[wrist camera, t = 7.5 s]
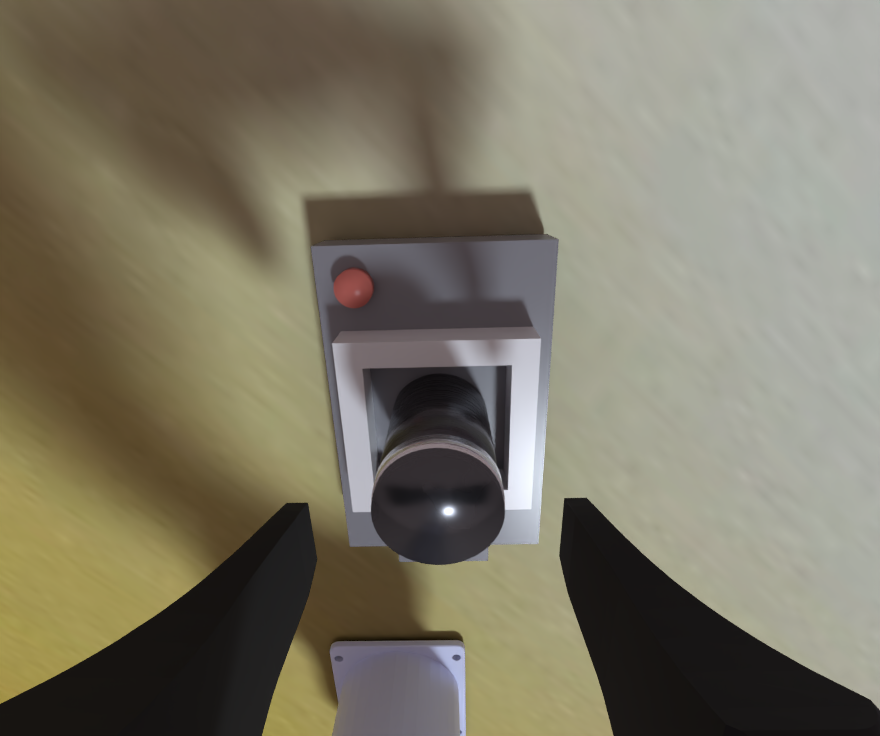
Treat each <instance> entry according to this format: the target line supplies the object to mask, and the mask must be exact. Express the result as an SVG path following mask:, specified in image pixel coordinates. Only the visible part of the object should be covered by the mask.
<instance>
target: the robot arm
mask: <svg viewBox="0 0 880 736" xmlns="http://www.w3.org/2000/svg"><path fill="white" fill-rule="evenodd" d="M559 556H560V561H561V565H562V570H563V575H564V579H565V583H566V587H567V591H568V594H569V597H570V600H571V603H572V606H573V609H574V612H575V615H576V618H577V620H578V623H579V626H580V629H581V632H582V634H583V637H584V640H585V643H586V646H587V648H588V651H589V654H590V657H591V660H592V662H593V665H594V668H595V671H596V674H597V677H598V680H599V683H600V686H601V690H602V693H603V696H604V700H605V704H606V708H607V712H608V715H609V719H610V723H611V727H612V731H613V735H614V736H880V710H879V709H878V708H877V707H876V706H875V705H874V704H873V702H872V701H871V700H870V699H868V698H866V697H864V696H862V695H860V694H858V693H856V692H854V691H852V690H850V689H848V688H846V687H844V686H842V685H840V684H838V683H836V682H834V681H832V680H830V679H828V678H826V677H824V676H822V675H820V674H818V673H816V672H814V671H812V670H810V669H808V668H806V667H805V666H803V665H801V664H799V663H797V662H796V661H794V660H792V659H790V658H789V657H787V656H785V655H783V654H782V653H780V652H778V651H776V650H775V649H773V648H771V647H769V646H768V645H766V644H764V643H763V642H761V641H759V640H758V639H756V638H755V637H753V636H751V635H750V634H748V633H747V632H745V631H744V630H742V629H740V628H739V627H737V626H736V625H734V624H733V623H731V622H730V621H728V620H727V619H725V618H724V617H722V616H721V615H719V614H718V613H716V612H715V611H713V610H712V609H711V608H709V607H708V606H706V605H705V604H704V603H702V602H701V601H700V600H698V599H697V598H696V597H694V596H693V595H692V594H690V593H689V592H688V591H686V590H685V589H684V588H682V587H681V586H680V585H679V584H677V583H676V582H675V581H673V580H672V579H671V578H670V577H669V576H667V575H666V574H665V573H664V572H663V571H662V570H660V569H659V568H658V567H657V566H656V565H655V564H653V563H652V562H651V561H650V560H649V559H648V558H647V557H646V556H644V555H643V554H642V553H641V552H640V551H639V550H638V549H637V548H636V547H635V546H634V545H633V544H632V543H631V542H630V541H629V540H628V539H627V538H625V537H624V536H623V535H622V534H621V533H620V532H619V531H618V530H617V529H616V528H615V527H614V526H613V524H612V523H611V522H610V521H609V520H608V519H607V518H606V517H605V516H604V515H603V514H602V513H601V512H600V511H599V510H598V509H597V508H596V507H595V506H594V505H593V504H592V503H591V502H590V501H589V500H588V499H587V498H564V509H563V520H562V532H561V543H560V555H559ZM316 562H317V555H316V549H315V543H314V537H313V531H312V525H311V519H310V513H309V507H308V503H286V504H285V505H284V506H283V507H282V508H281V509H280V510H279V511H278V512H277V513H276V514H275V515H274V516H272V517H271V518H270V519H269V520H268V521H267V522H266V523H265V524H264V525H263V526H262V527H261V528H260V529H259V530H258V531H257V532H256V533H255V534H254V535H253V536H252V537H251V538H250V539H249V540H248V541H246V542H245V543H244V544H243V545H242V546H241V547H240V548H239V549H238V550H237V551H236V552H235V553H234V554H233V555H231V556H230V557H229V558H228V559H227V560H226V561H224V562H223V563H222V564H221V565H220V566H219V567H217V568H216V569H215V570H214V571H213V572H212V573H210V574H209V575H208V576H207V577H206V578H205V579H204V580H202V581H201V582H200V583H199V584H197V585H196V586H195V587H194V588H192V589H191V590H190V591H188V592H187V593H186V594H185V595H183V596H182V597H181V598H179V599H178V600H177V601H175V602H174V603H172V604H171V605H170V606H168V607H167V608H166V609H164V610H163V611H161V612H160V613H159V614H157V615H156V616H154V617H153V618H151V619H150V620H148V621H147V622H145V623H144V624H142V625H140V626H139V627H137V628H136V629H134V630H133V631H131V632H130V633H128V634H127V635H125V636H124V637H122V638H121V639H119V640H118V641H116V642H114V643H113V644H111V645H109V646H108V647H106V648H104V649H103V650H101V651H99V652H98V653H96V654H94V655H93V656H91V657H89V658H87V659H86V660H84V661H82V662H80V663H78V664H77V665H75V666H73V667H71V668H70V669H68V670H66V671H64V672H62V673H60V674H59V675H57V676H55V677H53V678H51V679H49V680H47V681H45V682H43V683H41V684H39V685H37V686H35V687H33V688H31V689H29V690H27V691H25V692H23V693H21V694H19V695H17V696H15V697H13V698H11V699H9V700H7V701H5V702H3V703H1V704H0V736H262V733H263V729H264V725H265V722H266V718H267V714H268V710H269V707H270V703H271V699H272V696H273V693H274V690H275V687H276V684H277V681H278V678H279V675H280V672H281V670H282V667H283V664H284V662H285V659H286V656H287V653H288V651H289V648H290V645H291V643H292V640H293V637H294V635H295V632H296V629H297V626H298V624H299V621H300V618H301V615H302V613H303V610H304V607H305V604H306V602H307V599H308V596H309V592H310V588H311V584H312V580H313V576H314V571H315V567H316ZM330 657H331V663H332V669H333V675H334V681H335V686H336V692H337V698H338V709H337V714H336V718H335V723H334V728H333V733H332V736H466V706H465V646H464V643H463V642H461V641H459V640H414V641H337V642H334V643H332V645H331V648H330Z"/></svg>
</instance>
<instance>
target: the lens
mask: <svg viewBox="0 0 880 736" xmlns="http://www.w3.org/2000/svg"><path fill="white" fill-rule="evenodd" d="M371 518H372V522H373V525H374V528H375V530H376V532H377V534H378V535H379V537H380V538H381V540H382V541H383V542H384V543H385V544H386V545H387V546H388V547H389V548H390V549H392V550H393V551H395V552H396V553H397V554H399V555H401V556H403V557H405V558H407V559H410V560H412V561H416V562H420V563H425V564H433V565H445V564H453V563H457V562H461V561H464V560H467V559H470V558H472V557H474V556H476V555H478V554H479V553H481V552H482V551H484V550H485V549H486V548H487V547H489V546H490V545H491V544H492V543H493V541H494V540H495V539H496V537H497V536H498V535H499V533H500V531H501V529H502V526H503V523H504V518H505V496H504V490H503V484H502V479H501V475H500V472H499V469H498V467H497V461H496V456H495V451H494V445H493V440H492V434H491V429H490V424H489V418H488V413H487V408H486V404H485V401H484V399H483V397H482V395H481V394H480V393H479V391H478V390H477V389H476V388H475V387H474V386H473V385H472V384H470V383H469V382H467V381H466V380H464V379H462V378H460V377H457V376H454V375H450V374H441V373H439V374H429V375H425V376H422V377H419V378H417V379H415V380H413V381H412V382H410V383H409V384H408V385H406V386H405V387H404V388H403V389H402V390H401V392H400V393H399V395H398V396H397V398H396V400H395V403H394V406H393V410H392V415H391V419H390V423H389V428H388V432H387V436H386V441H385V445H384V450H383V454H382V458H381V463H380V466H379V468H378V471H377V474H376V477H375V481H374V486H373V490H372V496H371Z"/></svg>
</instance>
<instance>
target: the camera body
mask: <svg viewBox="0 0 880 736" xmlns="http://www.w3.org/2000/svg"><path fill="white" fill-rule="evenodd" d="M558 241H559V239H557V238H554V237H552V236H550V235H548V234H534V235H498V236H463V237H428V238H393V239H357V240H324V241H322V242H320V243H317V244H315V245H313V246H311V252H312V260H313V267H314V275H315V283H316V290H317V298H318V306H319V313H320V321H321V329H322V336H323V344H324V352H325V359H326V367H327V375H328V382H329V390H330V398H331V405H332V413H333V421H334V428H335V436H336V444H337V451H338V459H339V467H340V474H341V482H342V490H343V497H344V505H345V513H346V520H347V528H348V536H349V543H350V547H358V546H387V545H386V544H385V543H384V542H383V541H382V540H381V538H380V537H379V535H378V534H377V532H376V530H375V528H374V525H373V522H372V518H371V496H372V490H373V486H374V481H375V477H376V474H377V471H378V468H379V466H380V463H381V458H382V454H383V450H384V445H385V441H386V436H387V432H388V428H389V423H390V419H391V415H392V410H393V406H394V403H395V400H396V398H397V396H398V395H399V393H400V392H401V390H402V389H403V388H404V387H405V386H406V385H408V384H409V383H410V382H412V381H413V380H415V379H417V378H419V377H422V376H425V375H429V374H439V373H441V374H450V375H454V376H457V377H460V378H462V379H464V380H466V381H467V382H469V383H470V384H472V385H473V386H474V387H475V388H476V389H477V390H478V391H479V393H480V394H481V395H482V397H483V399H484V401H485V404H486V408H487V413H488V418H489V424H490V429H491V434H492V440H493V445H494V451H495V456H496V461H497V467H498V469H499V472H500V475H501V479H502V484H503V490H504V496H505V518H504V523H503V526H502V529H501V531H500V533H499V535H498V536H497V537H496V539H495V540H494V541H493V543H492V544H538V542H539V527H540V512H541V497H542V481H543V466H544V451H545V436H546V421H547V406H548V391H549V376H550V361H551V346H552V331H553V316H554V301H555V286H556V271H557V256H558ZM492 544H491V545H492ZM464 561H488V547H487V548H486V549H485V550H484V551H482V552H481V553H479V554H478V555H476V556H474V557H472V558H470V559H467V560H464ZM399 562H416V561H412V560H410V559H407V558H405V557H403V556H401V555H399Z"/></svg>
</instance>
